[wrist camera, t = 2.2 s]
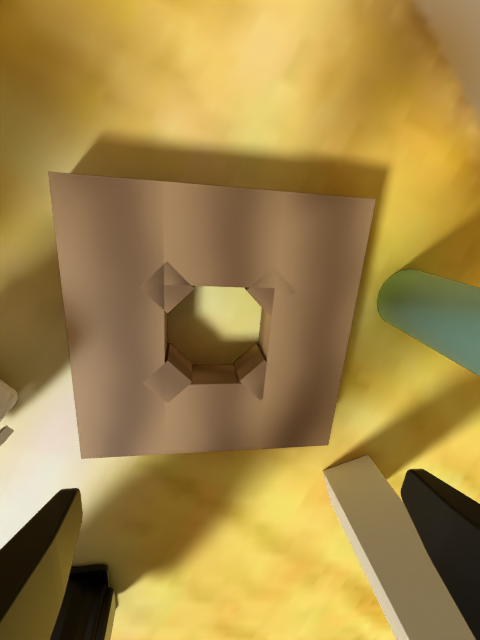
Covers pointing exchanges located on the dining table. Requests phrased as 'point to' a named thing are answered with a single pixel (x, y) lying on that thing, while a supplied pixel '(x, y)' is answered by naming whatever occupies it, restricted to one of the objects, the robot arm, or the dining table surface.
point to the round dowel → (435, 314)
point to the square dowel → (393, 554)
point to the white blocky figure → (6, 407)
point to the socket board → (176, 283)
